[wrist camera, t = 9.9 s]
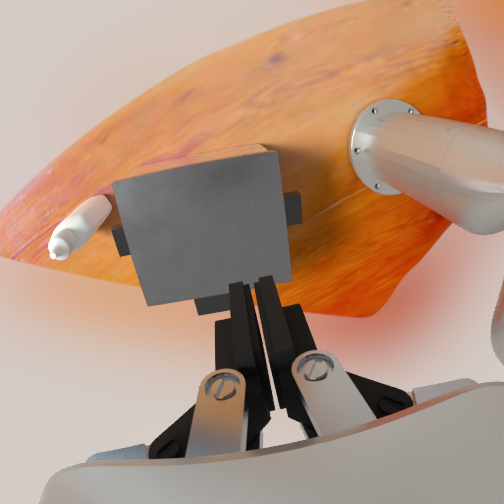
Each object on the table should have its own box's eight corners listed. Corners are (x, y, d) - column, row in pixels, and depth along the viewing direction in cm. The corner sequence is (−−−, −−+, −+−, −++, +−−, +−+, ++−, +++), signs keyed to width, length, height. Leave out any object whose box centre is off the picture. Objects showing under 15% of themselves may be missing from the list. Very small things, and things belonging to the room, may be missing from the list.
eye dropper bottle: (115, 227, 36) (83, 276, 25) (76, 229, 35) (35, 277, 25) (111, 193, 34) (74, 231, 23) (71, 196, 33) (24, 234, 23)
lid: (275, 149, 27) (277, 150, 26) (291, 292, 33) (294, 297, 32) (114, 181, 26) (111, 183, 25) (155, 317, 32) (153, 322, 31)
